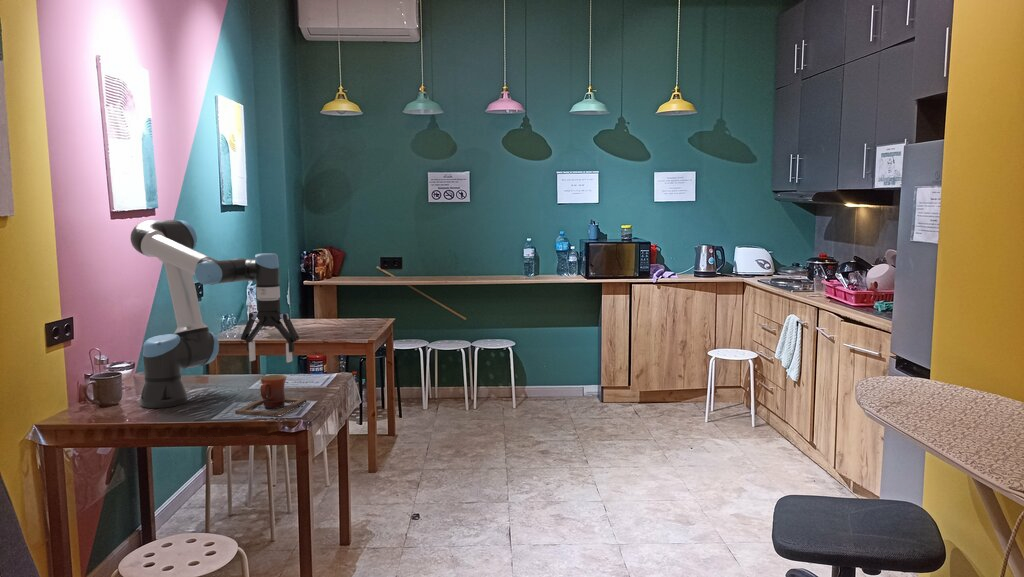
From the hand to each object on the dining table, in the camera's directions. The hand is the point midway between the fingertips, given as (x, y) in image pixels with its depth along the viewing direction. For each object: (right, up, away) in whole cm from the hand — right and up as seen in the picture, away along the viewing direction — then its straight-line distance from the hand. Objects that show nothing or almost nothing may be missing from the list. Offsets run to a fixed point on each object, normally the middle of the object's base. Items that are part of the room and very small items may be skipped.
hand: (270, 361), depth 256 cm
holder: (0, -16, +2) cm, 16 cm away
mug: (0, -16, +2) cm, 16 cm away
